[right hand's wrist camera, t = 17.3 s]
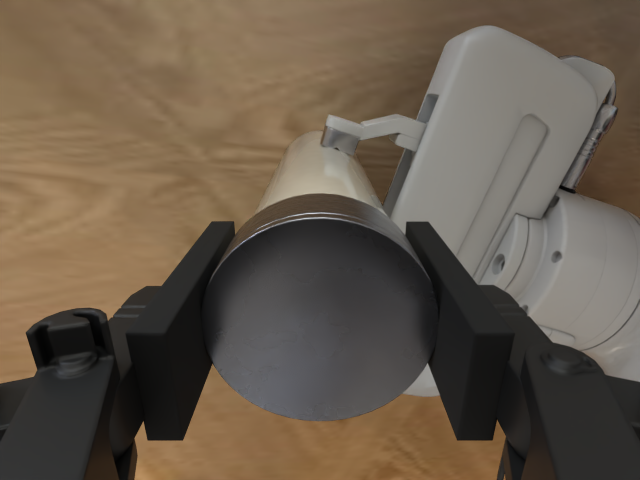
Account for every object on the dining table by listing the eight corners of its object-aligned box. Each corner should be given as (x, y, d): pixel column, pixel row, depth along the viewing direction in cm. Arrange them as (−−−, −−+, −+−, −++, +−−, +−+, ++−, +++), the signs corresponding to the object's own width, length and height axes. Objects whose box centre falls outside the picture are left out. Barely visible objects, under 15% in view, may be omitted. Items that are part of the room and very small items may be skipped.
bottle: (309, 113, 26) (289, 173, 9) (375, 161, 28) (469, 294, 10) (265, 180, 28) (177, 340, 11) (329, 223, 29) (343, 428, 12)
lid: (194, 332, 12) (170, 379, 11) (262, 157, 11) (249, 175, 9) (365, 393, 13) (373, 447, 11) (457, 242, 11) (486, 276, 9)
